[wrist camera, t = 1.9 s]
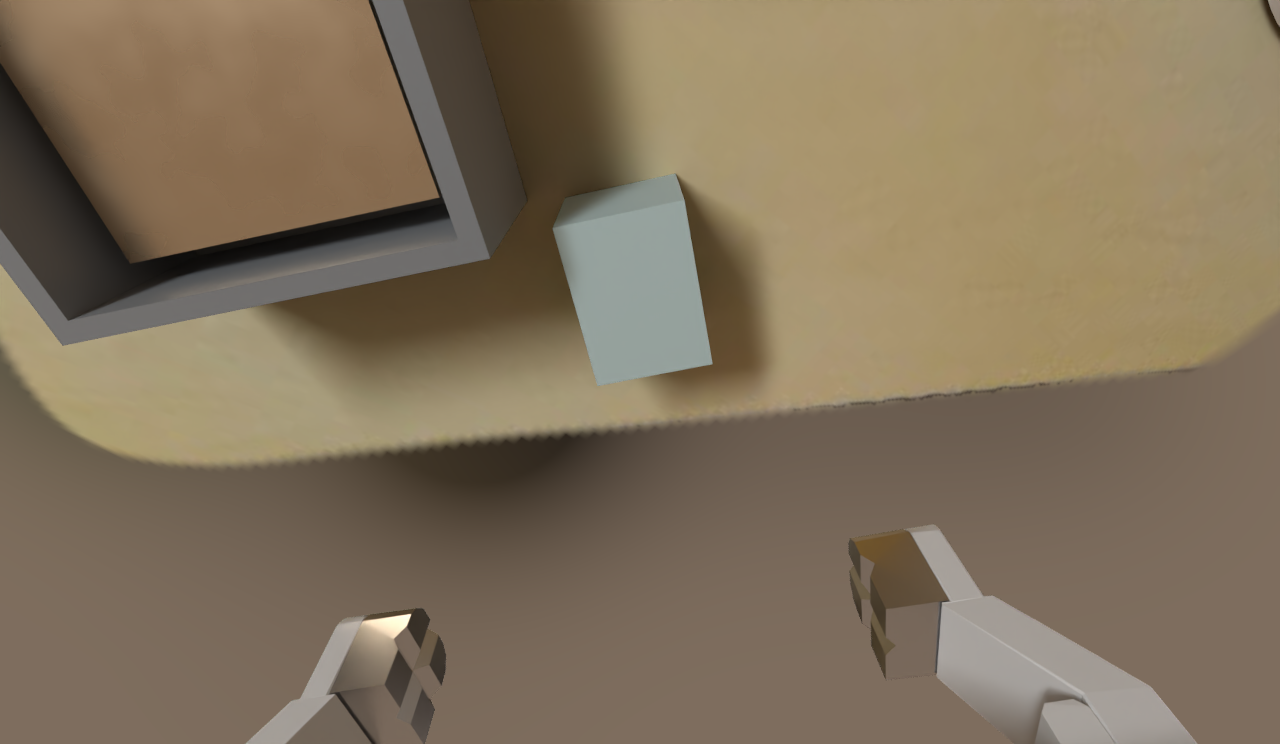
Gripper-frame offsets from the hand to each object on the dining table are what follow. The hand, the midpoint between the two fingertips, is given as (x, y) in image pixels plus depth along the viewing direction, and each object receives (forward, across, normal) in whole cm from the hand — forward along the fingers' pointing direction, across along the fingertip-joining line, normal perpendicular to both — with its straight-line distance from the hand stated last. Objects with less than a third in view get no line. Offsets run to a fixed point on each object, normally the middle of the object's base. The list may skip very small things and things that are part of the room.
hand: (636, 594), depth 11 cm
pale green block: (+19, 0, 0) cm, 19 cm away
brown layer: (+18, +12, -12) cm, 25 cm away
